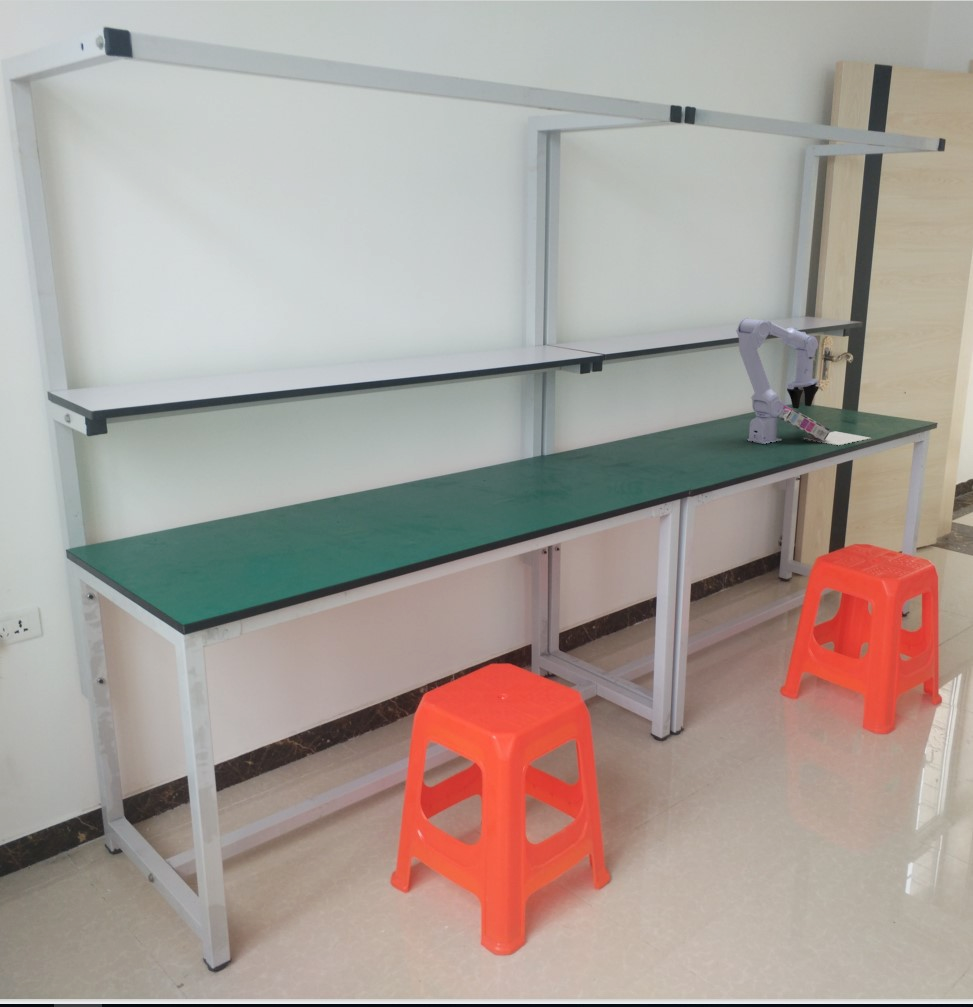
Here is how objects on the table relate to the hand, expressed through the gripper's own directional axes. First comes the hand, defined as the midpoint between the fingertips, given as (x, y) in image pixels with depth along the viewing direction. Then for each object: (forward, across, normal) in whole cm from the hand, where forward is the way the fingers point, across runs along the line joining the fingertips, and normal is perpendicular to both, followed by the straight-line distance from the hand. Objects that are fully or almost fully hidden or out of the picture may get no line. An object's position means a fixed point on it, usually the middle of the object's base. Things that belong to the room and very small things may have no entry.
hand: (801, 407), depth 347 cm
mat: (+10, +5, -12) cm, 17 cm away
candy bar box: (+8, 0, -10) cm, 12 cm away
